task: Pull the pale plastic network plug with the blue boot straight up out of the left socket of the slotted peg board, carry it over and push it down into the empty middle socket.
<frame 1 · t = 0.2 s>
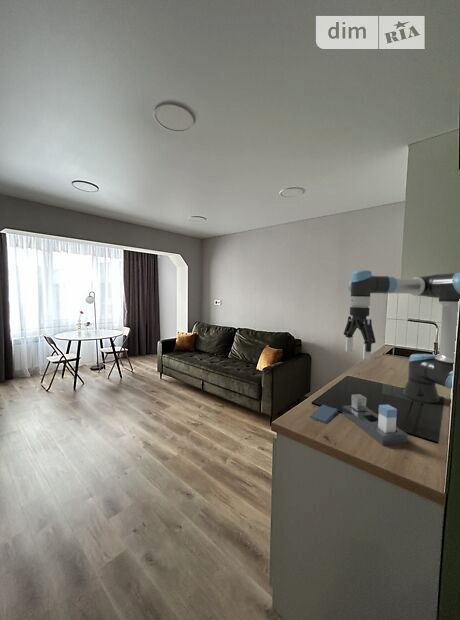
hand: (357, 355, 108), 28 cm above the counter, fingers open, 13 cm apart
plug: (386, 437, 94), resting in slotted peg board
smartphone: (323, 416, 112), on the counter
slotted peg board: (370, 426, 102), on the counter
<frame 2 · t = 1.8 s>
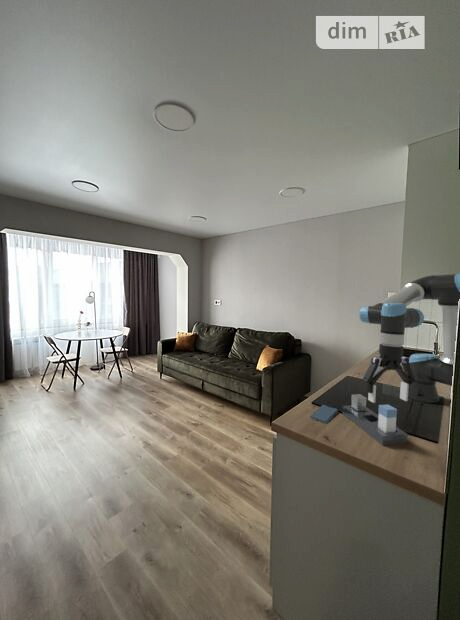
hand: (387, 400, 93), 15 cm above the counter, fingers open, 13 cm apart
nothing on the counter moved.
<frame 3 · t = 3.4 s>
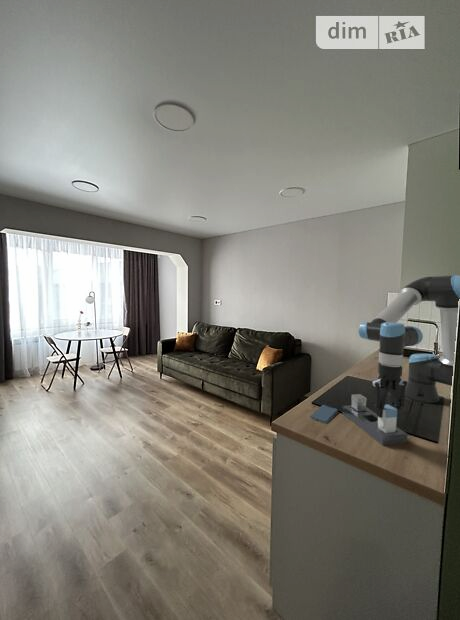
hand: (386, 424, 94), 5 cm above the counter, fingers closed on plug, 4 cm apart
plug: (386, 437, 94), resting in slotted peg board, touching gripper
everything else where it was.
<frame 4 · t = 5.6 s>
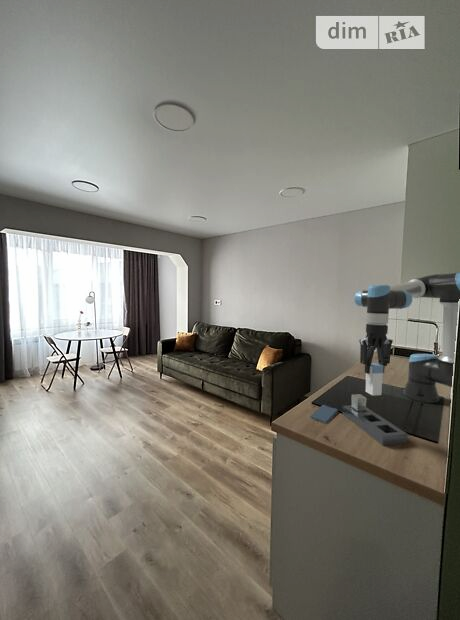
hand: (373, 380, 100), 19 cm above the counter, fingers closed on plug, 4 cm apart
plug: (373, 393, 101), point 14 cm above the counter, touching gripper
everything else where it was.
when the fingers open (7 cm above the counter, at t = 7.7 s): plug drops 1 cm, resting in slotted peg board.
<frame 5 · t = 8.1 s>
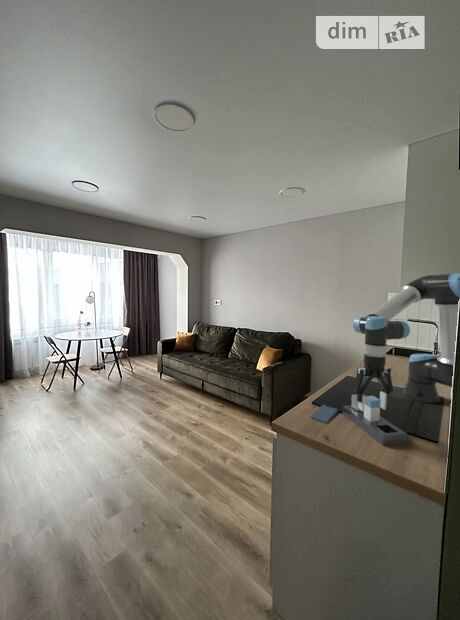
hand: (371, 408, 101), 8 cm above the counter, fingers open, 9 cm apart
plug: (371, 426, 102), resting in slotted peg board
everything else where it was.
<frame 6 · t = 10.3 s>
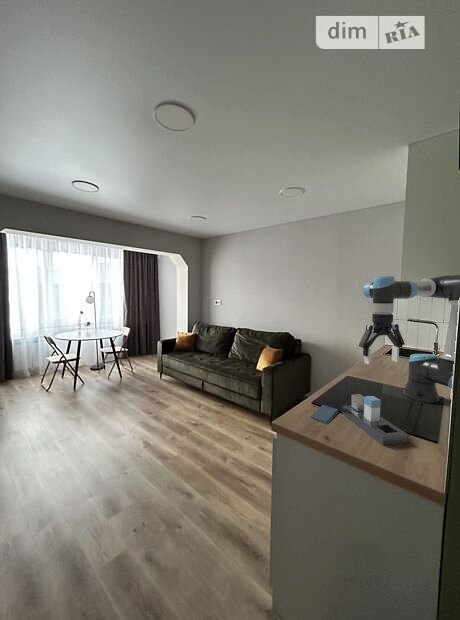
hand: (381, 362, 106), 25 cm above the counter, fingers open, 13 cm apart
nothing on the counter moved.
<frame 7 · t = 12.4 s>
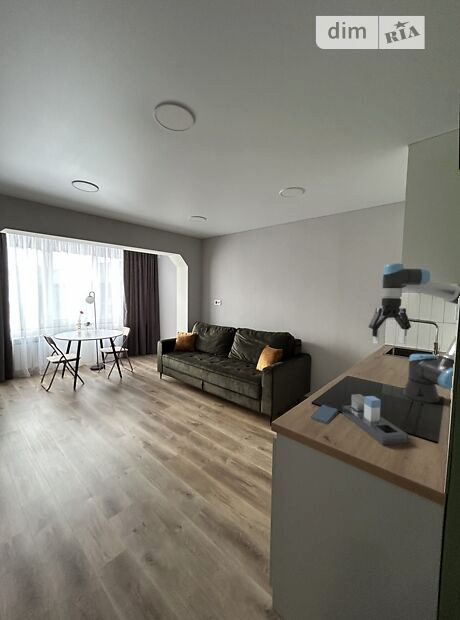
hand: (388, 343, 115), 32 cm above the counter, fingers open, 13 cm apart
nothing on the counter moved.
at the end: plug 0.1 cm off-centre on the slotted peg board, point 0.0 cm above the slotted peg board's base; plug tilted 0°; the gripper is holding nothing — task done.
